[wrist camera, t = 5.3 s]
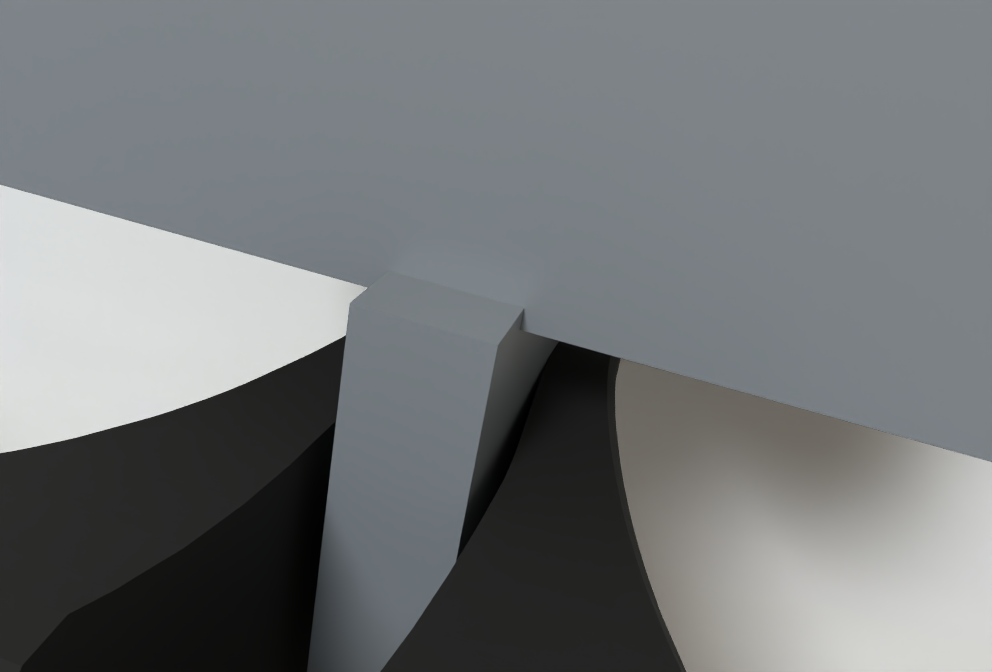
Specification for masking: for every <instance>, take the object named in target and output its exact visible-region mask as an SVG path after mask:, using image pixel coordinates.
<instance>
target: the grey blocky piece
mask: <svg viewBox="0 0 992 672" xmlns="http://www.w3.org/2000/svg"><path fill="white" fill-rule="evenodd" d="M0 185H4V186H7V187H11V188H15V189H18V190H22V191H25V192H29V193H32V194H36V195H40V196H43V197H47V198H50V199H54V200H57V201H61V202H65V203H68V204H72V205H75V206H79V207H82V208H86V209H90V210H93V211H97V212H100V213H104V214H108V215H111V216H115V217H118V218H122V219H125V220H129V221H133V222H136V223H140V224H143V225H147V226H150V227H154V228H158V229H161V230H165V231H168V232H172V233H175V234H179V235H183V236H186V237H190V238H193V239H197V240H200V241H204V242H208V243H211V244H215V245H218V246H222V247H225V248H229V249H233V250H236V251H240V252H243V253H247V254H250V255H254V256H258V257H261V258H265V259H268V260H272V261H276V262H279V263H283V264H286V265H290V266H293V267H297V268H301V269H304V270H308V271H311V272H315V273H318V274H322V275H326V276H329V277H333V278H336V279H340V280H343V281H347V282H351V283H354V284H358V285H361V286H365V287H368V289H366V290H365V291H364V292H363V293H362V294H360V295H359V296H358V297H357V298H356V299H354V300H353V301H352V302H351V303H350V307H349V315H348V324H347V332H346V341H345V349H344V358H343V367H342V375H341V384H340V392H339V401H338V410H337V418H336V427H335V435H334V444H333V452H332V461H331V470H330V478H329V487H328V495H327V504H326V512H325V521H324V530H323V538H322V547H321V555H320V564H319V572H318V581H317V590H316V598H315V607H314V615H313V624H312V633H311V641H310V650H309V658H308V667H307V672H381V670H382V669H383V667H384V666H385V665H386V663H387V662H388V661H389V659H390V658H391V657H392V655H393V654H394V653H395V651H396V650H397V649H398V647H399V646H400V645H401V643H402V642H403V640H404V639H405V638H406V636H407V635H408V634H409V632H410V631H411V630H412V628H413V627H414V625H415V624H416V622H417V621H418V619H419V618H420V616H421V615H422V613H423V612H424V610H425V609H426V607H427V606H428V604H429V603H430V601H431V600H432V598H433V597H434V595H435V594H436V592H437V591H438V589H439V588H440V586H441V585H442V583H443V582H444V580H445V579H446V577H447V576H448V574H449V573H450V571H451V569H452V568H453V566H454V564H455V563H456V561H457V559H458V558H459V556H460V554H461V553H462V551H463V549H464V548H465V546H466V545H467V543H468V541H469V540H470V538H471V536H472V535H473V533H474V531H475V530H476V528H477V526H478V525H479V523H480V521H481V519H482V518H483V516H484V514H485V512H486V510H487V509H488V507H489V505H490V503H491V501H492V500H493V498H494V496H495V494H496V493H497V491H498V489H499V487H500V485H501V484H502V482H503V480H504V478H505V476H506V474H507V471H508V469H509V467H510V464H511V462H512V460H513V457H514V455H515V452H516V449H517V446H518V443H519V440H520V437H521V434H522V431H523V428H524V426H525V423H526V420H527V417H528V414H529V411H530V408H531V405H532V402H533V399H534V396H535V393H536V390H537V387H538V385H539V382H540V379H541V376H542V373H543V370H544V367H545V364H546V362H547V359H548V358H549V356H550V354H551V353H552V351H553V350H554V348H555V347H556V345H557V344H558V342H559V341H561V342H565V343H569V344H572V345H576V346H579V347H583V348H586V349H590V350H594V351H597V352H601V353H604V354H608V355H612V356H615V357H619V358H622V359H626V360H629V361H633V362H637V363H640V364H644V365H647V366H651V367H654V368H658V369H662V370H665V371H669V372H672V373H676V374H679V375H683V376H687V377H690V378H694V379H697V380H701V381H704V382H708V383H712V384H715V385H719V386H722V387H726V388H729V389H733V390H737V391H740V392H744V393H747V394H751V395H754V396H758V397H762V398H765V399H769V400H772V401H776V402H780V403H783V404H787V405H790V406H794V407H797V408H801V409H805V410H808V411H812V412H815V413H819V414H822V415H826V416H830V417H833V418H837V419H840V420H844V421H847V422H851V423H855V424H858V425H862V426H865V427H869V428H872V429H876V430H880V431H883V432H887V433H890V434H894V435H897V436H901V437H905V438H908V439H912V440H915V441H919V442H922V443H926V444H930V445H933V446H937V447H940V448H944V449H948V450H951V451H955V452H958V453H962V454H965V455H969V456H973V457H976V458H980V459H983V460H987V461H990V462H992V0H0Z"/></svg>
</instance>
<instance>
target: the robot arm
mask: <svg viewBox="0 0 992 672" xmlns="http://www.w3.org/2000/svg"><path fill="white" fill-rule="evenodd" d="M345 341H346V336H344V337H342V338H340V339H338V340H336V341H334V342H333V343H331V344H329V345H327V346H325V347H323V348H321V349H319V350H317V351H315V352H313V353H311V354H309V355H307V356H305V357H303V358H301V359H298V360H296V361H294V362H292V363H290V364H287V365H285V366H283V367H281V368H279V369H276V370H274V371H272V372H270V373H268V374H266V375H263V376H261V377H259V378H257V379H255V380H252V381H250V382H248V383H246V384H243V385H241V386H239V387H236V388H234V389H231V390H229V391H226V392H223V393H221V394H218V395H216V396H213V397H210V398H208V399H205V400H202V401H199V402H196V403H193V404H190V405H188V406H185V407H182V408H179V409H176V410H173V411H170V412H167V413H164V414H161V415H158V416H155V417H151V418H148V419H144V420H140V421H137V422H133V423H129V424H126V425H122V426H118V427H114V428H111V429H107V430H103V431H100V432H96V433H92V434H89V435H85V436H81V437H78V438H73V439H69V440H65V441H60V442H56V443H51V444H46V445H41V446H37V447H32V448H27V449H22V450H17V451H11V452H6V453H0V672H307V667H308V658H309V650H310V641H311V633H312V624H313V615H314V607H315V598H316V590H317V581H318V572H319V564H320V555H321V547H322V538H323V530H324V521H325V512H326V504H327V495H328V487H329V478H330V470H331V461H332V452H333V444H334V435H335V427H336V418H337V410H338V401H339V392H340V384H341V375H342V367H343V358H344V349H345ZM620 359H621V358H619V357H615V356H612V355H608V354H604V353H601V352H597V351H594V350H590V349H586V348H583V347H579V346H576V345H572V344H569V343H565V342H561V341H559V342H558V344H557V345H556V347H555V348H554V350H553V351H552V353H551V354H550V356H549V358H548V359H547V362H546V364H545V367H544V370H543V373H542V376H541V379H540V382H539V385H538V387H537V390H536V393H535V396H534V399H533V402H532V405H531V408H530V411H529V414H528V417H527V420H526V423H525V426H524V428H523V431H522V434H521V437H520V440H519V443H518V446H517V449H516V452H515V455H514V457H513V460H512V462H511V464H510V467H509V469H508V471H507V474H506V476H505V478H504V480H503V482H502V484H501V485H500V487H499V489H498V491H497V493H496V494H495V496H494V498H493V500H492V501H491V503H490V505H489V507H488V509H487V510H486V512H485V514H484V516H483V518H482V519H481V521H480V523H479V525H478V526H477V528H476V530H475V531H474V533H473V535H472V536H471V538H470V540H469V541H468V543H467V545H466V546H465V548H464V549H463V551H462V553H461V554H460V556H459V558H458V559H457V561H456V563H455V564H454V566H453V568H452V569H451V571H450V573H449V574H448V576H447V577H446V579H445V580H444V582H443V583H442V585H441V586H440V588H439V589H438V591H437V592H436V594H435V595H434V597H433V598H432V600H431V601H430V603H429V604H428V606H427V607H426V609H425V610H424V612H423V613H422V615H421V616H420V618H419V619H418V621H417V622H416V624H415V625H414V627H413V628H412V630H411V631H410V632H409V634H408V635H407V636H406V638H405V639H404V640H403V642H402V643H401V645H400V646H399V647H398V649H397V650H396V651H395V653H394V654H393V655H392V657H391V658H390V659H389V661H388V662H387V663H386V665H385V666H384V667H383V669H382V670H381V672H686V670H685V668H684V666H683V663H682V661H681V659H680V656H679V654H678V652H677V650H676V647H675V645H674V643H673V640H672V638H671V636H670V634H669V631H668V629H667V627H666V624H665V622H664V620H663V618H662V615H661V613H660V610H659V607H658V604H657V602H656V599H655V596H654V593H653V590H652V587H651V585H650V582H649V579H648V576H647V573H646V570H645V567H644V563H643V560H642V557H641V554H640V550H639V547H638V544H637V540H636V536H635V532H634V529H633V525H632V521H631V516H630V512H629V508H628V503H627V498H626V493H625V488H624V483H623V477H622V471H621V465H620V458H619V449H618V441H617V432H616V420H615V381H616V375H617V371H618V367H619V363H620Z"/></svg>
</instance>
